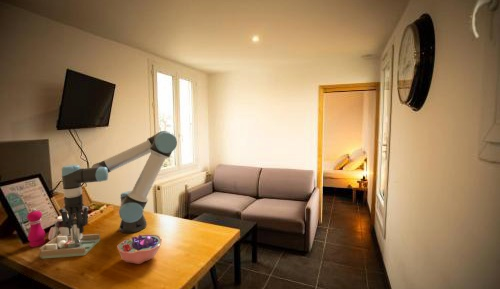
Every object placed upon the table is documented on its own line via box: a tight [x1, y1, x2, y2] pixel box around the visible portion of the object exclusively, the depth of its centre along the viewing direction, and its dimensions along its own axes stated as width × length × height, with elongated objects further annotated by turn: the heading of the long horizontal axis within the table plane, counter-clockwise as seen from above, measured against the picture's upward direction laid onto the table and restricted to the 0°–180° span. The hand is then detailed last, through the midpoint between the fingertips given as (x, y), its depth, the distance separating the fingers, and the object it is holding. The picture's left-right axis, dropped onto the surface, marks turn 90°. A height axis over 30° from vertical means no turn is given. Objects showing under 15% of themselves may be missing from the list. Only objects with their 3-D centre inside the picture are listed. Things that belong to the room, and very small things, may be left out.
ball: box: [57, 240, 66, 249], centre depth 121 cm, size 4×4×4 cm
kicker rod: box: [64, 218, 84, 248], centre depth 121 cm, size 7×4×15 cm, turn 97°
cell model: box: [116, 233, 163, 265], centre depth 111 cm, size 17×20×11 cm
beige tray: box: [38, 233, 101, 260], centre depth 122 cm, size 20×15×5 cm
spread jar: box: [47, 213, 71, 241], centre depth 134 cm, size 12×11×12 cm
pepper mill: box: [26, 207, 46, 248], centre depth 126 cm, size 7×7×20 cm
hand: (77, 239), depth 122 cm, fingers closed on kicker rod, 2 cm apart
